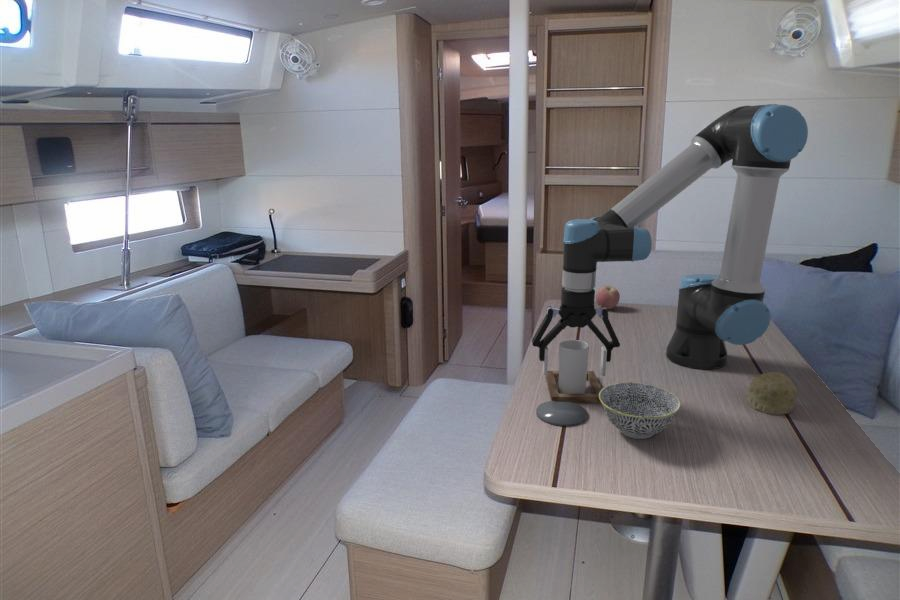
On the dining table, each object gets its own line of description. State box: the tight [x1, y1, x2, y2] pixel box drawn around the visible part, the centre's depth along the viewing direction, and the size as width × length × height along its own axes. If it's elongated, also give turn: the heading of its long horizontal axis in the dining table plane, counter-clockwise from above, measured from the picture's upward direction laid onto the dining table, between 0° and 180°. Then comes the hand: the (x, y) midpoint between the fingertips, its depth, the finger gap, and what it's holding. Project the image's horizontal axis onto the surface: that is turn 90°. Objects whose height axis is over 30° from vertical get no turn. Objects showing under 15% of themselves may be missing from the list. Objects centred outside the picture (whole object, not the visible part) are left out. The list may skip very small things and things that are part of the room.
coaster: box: [535, 400, 588, 427], centre depth 132 cm, size 11×11×1 cm
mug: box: [558, 339, 590, 394], centre depth 142 cm, size 10×7×12 cm, turn 155°
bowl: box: [599, 381, 682, 440], centre depth 123 cm, size 16×16×8 cm
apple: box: [595, 285, 620, 310], centre depth 204 cm, size 8×8×8 cm
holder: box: [544, 370, 603, 404], centre depth 144 cm, size 12×15×2 cm
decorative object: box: [746, 371, 798, 416], centre depth 133 cm, size 9×10×10 cm
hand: (573, 373), depth 143 cm, fingers open, 13 cm apart
